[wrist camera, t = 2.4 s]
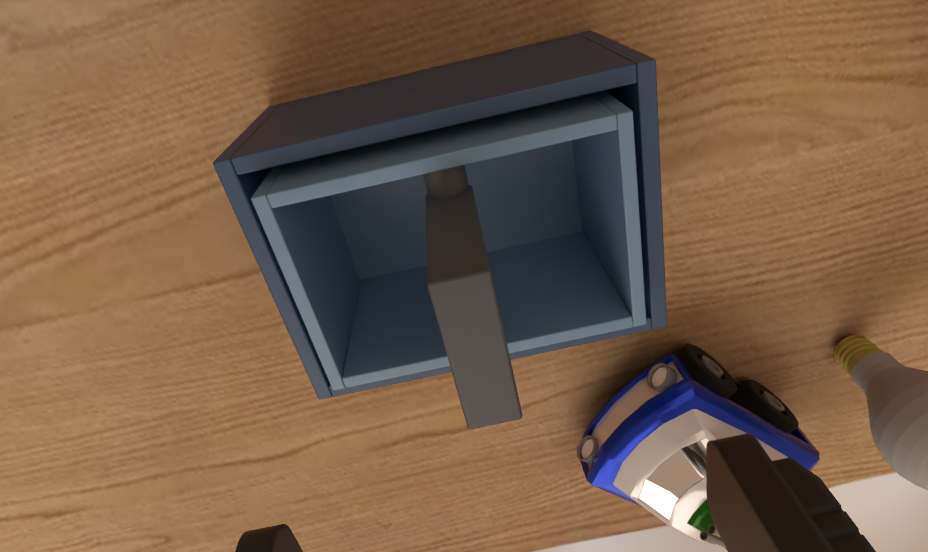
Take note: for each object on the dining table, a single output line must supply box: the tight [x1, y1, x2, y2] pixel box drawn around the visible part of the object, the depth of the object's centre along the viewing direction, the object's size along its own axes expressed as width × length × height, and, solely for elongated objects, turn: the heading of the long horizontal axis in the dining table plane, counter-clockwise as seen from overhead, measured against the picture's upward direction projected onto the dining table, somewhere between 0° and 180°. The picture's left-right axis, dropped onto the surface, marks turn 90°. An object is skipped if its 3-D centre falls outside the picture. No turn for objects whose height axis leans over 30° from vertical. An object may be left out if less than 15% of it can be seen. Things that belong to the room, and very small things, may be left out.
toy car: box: [577, 344, 819, 551], centre depth 31 cm, size 9×12×10 cm
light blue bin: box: [251, 90, 646, 429], centre depth 21 cm, size 12×8×13 cm, turn 102°
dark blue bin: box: [213, 31, 667, 399], centre depth 24 cm, size 14×10×8 cm
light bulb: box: [834, 335, 928, 490], centre depth 29 cm, size 6×6×10 cm
